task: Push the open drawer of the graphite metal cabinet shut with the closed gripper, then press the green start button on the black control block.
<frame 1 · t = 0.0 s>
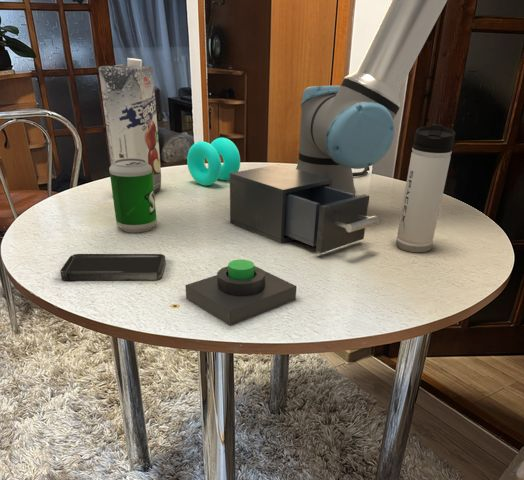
juice carton: (139, 194, 117), on the table
soda can: (137, 228, 97), on the table
start button: (241, 270, 70), point 4 cm above the table, slide at 0.1 cm
drawer: (325, 217, 90), point 5 cm above the table, slide at 8.0 cm
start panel: (241, 299, 73), on the table
travel mug: (413, 247, 93), on the table
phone: (115, 271, 80), on the table
cabinet: (278, 226, 100), on the table
donuts: (214, 183, 127), on the table
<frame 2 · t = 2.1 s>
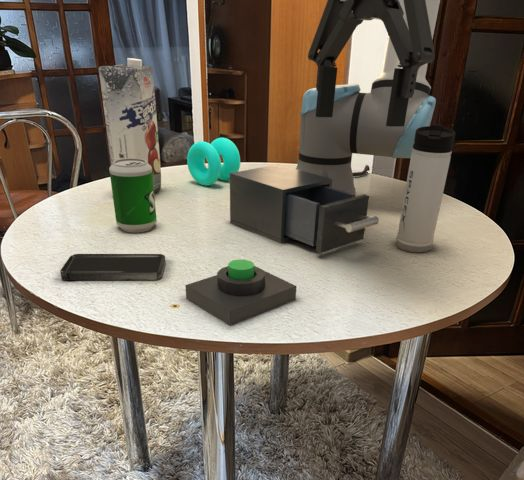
hand: (357, 121, 71), 22 cm above the table, tool pointing down, fingers open, 13 cm apart
nothing on the table moved.
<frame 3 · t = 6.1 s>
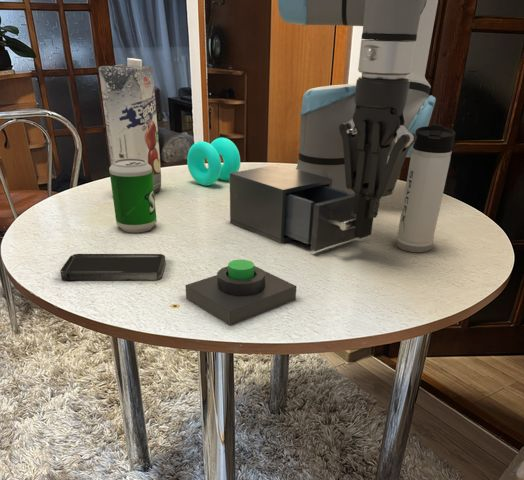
hand: (362, 235, 85), 4 cm above the table, tool pointing down, fingers closed
drawer: (320, 215, 91), point 5 cm above the table, slide at 6.7 cm
everything else where it was.
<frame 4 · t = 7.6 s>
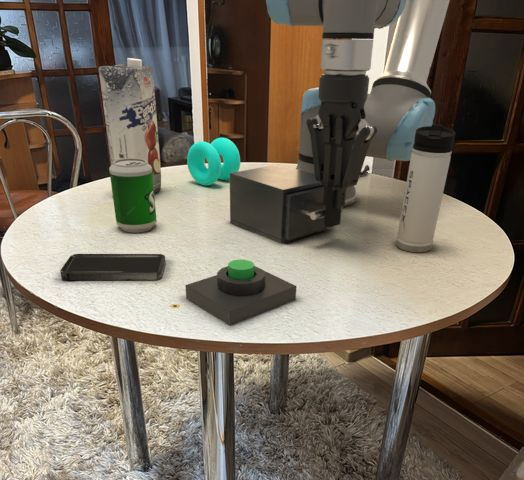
hand: (332, 224, 90), 4 cm above the table, tool pointing down, fingers closed
drawer: (293, 206, 95), point 5 cm above the table, slide at 0.0 cm, touching cabinet, gripper
everything else where it was.
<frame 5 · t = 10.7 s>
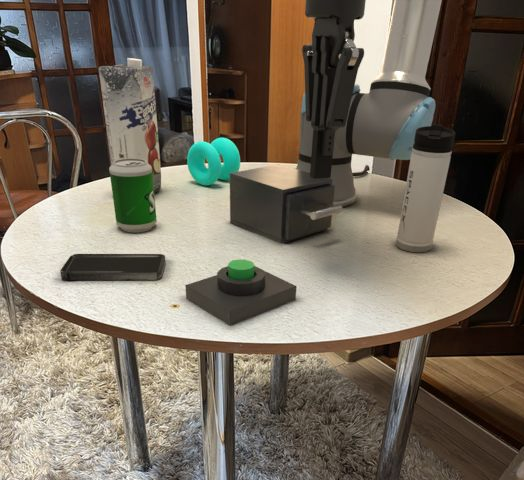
hand: (320, 176, 76), 14 cm above the table, tool pointing down, fingers closed
drawer: (293, 206, 95), point 5 cm above the table, slide at 0.0 cm, touching cabinet
everything else where it was.
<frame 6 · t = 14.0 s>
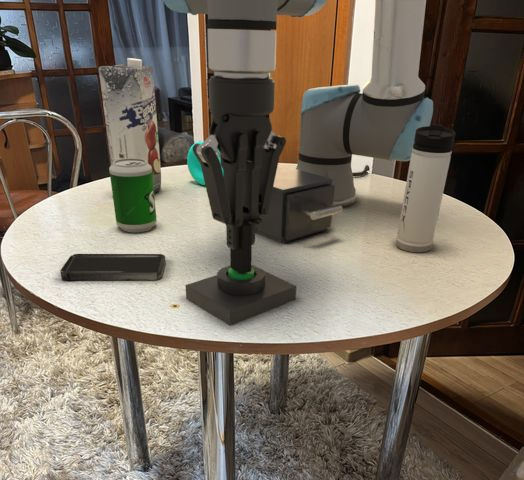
hand: (240, 269, 70), 5 cm above the table, tool pointing down, fingers closed
start button: (241, 276, 71), point 4 cm above the table, slide at -0.8 cm, touching gripper
everything else where it was.
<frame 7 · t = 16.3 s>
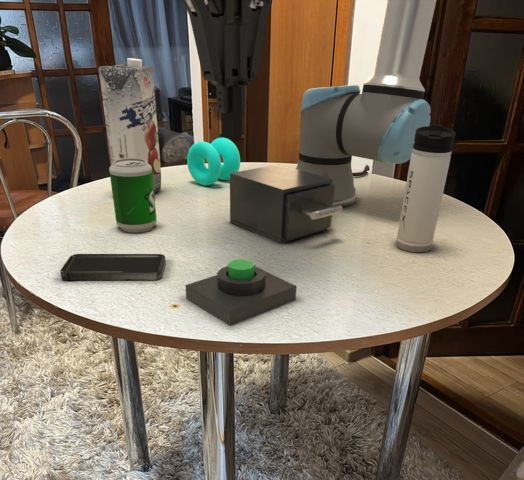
hand: (231, 137, 72), 20 cm above the table, tool pointing down, fingers closed
start button: (241, 270, 70), point 4 cm above the table, slide at 0.1 cm
everything else where it was.
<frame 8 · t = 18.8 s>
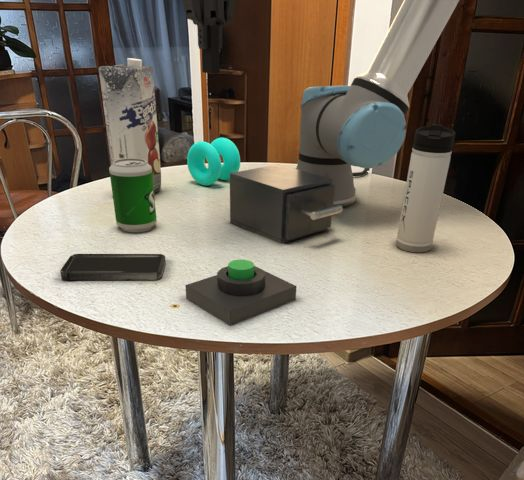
hand: (211, 72, 83), 26 cm above the table, tool pointing down, fingers closed
nothing on the table moved.
at the end: drawer slide at 0.0 cm; start button pushed in 1.0 cm at the most during the clip, back to where it started at the end; start button slide at 0.1 cm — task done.
